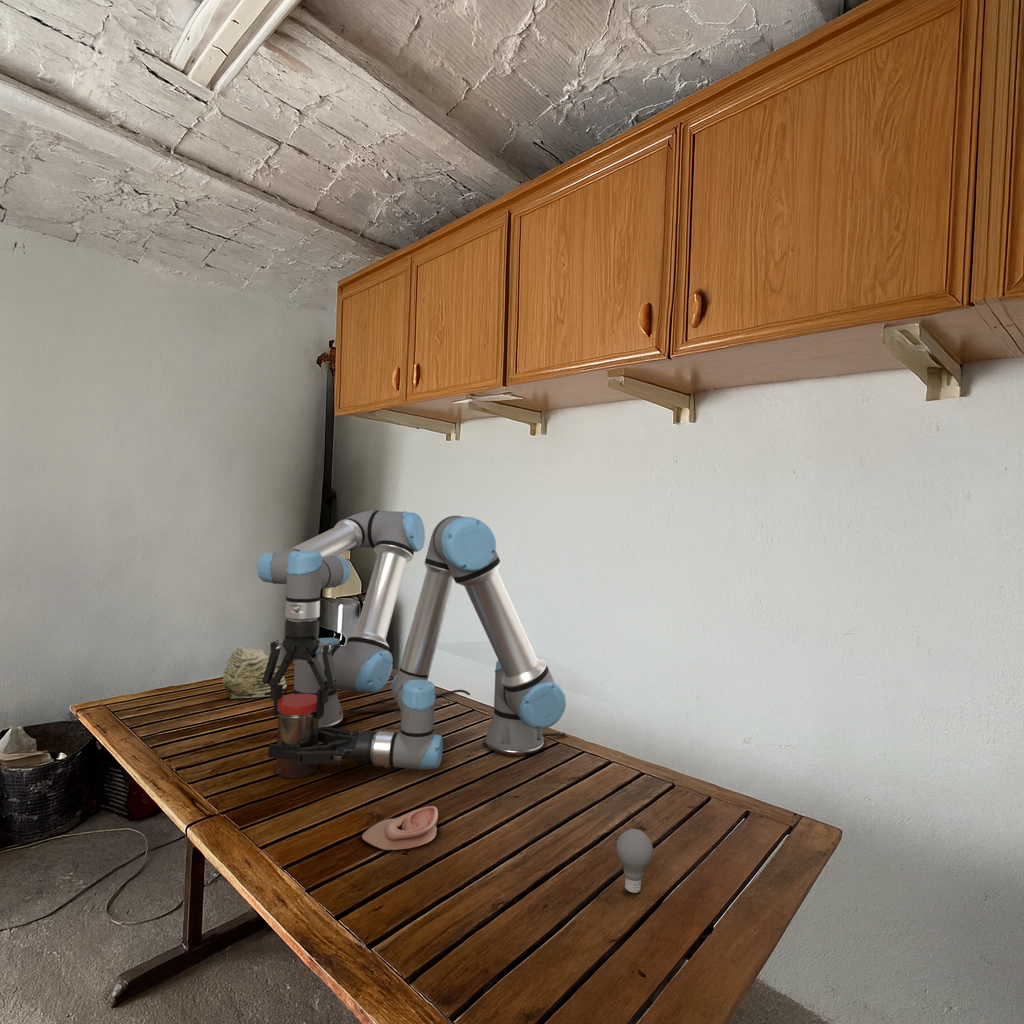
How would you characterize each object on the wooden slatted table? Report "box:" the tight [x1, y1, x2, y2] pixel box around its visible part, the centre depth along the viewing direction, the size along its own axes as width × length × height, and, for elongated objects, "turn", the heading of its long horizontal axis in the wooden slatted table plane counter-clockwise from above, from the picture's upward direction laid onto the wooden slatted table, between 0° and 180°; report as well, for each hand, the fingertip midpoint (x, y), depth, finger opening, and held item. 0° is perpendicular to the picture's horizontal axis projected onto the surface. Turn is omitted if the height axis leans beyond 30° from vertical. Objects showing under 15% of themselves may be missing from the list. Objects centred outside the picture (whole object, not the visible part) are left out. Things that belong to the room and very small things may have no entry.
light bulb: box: [615, 828, 654, 894], centre depth 106 cm, size 6×6×10 cm
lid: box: [277, 693, 317, 715], centre depth 146 cm, size 10×10×2 cm
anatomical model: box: [361, 805, 439, 851], centre depth 120 cm, size 13×4×12 cm
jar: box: [275, 712, 319, 779], centre depth 146 cm, size 9×9×16 cm
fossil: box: [222, 646, 288, 699], centre depth 198 cm, size 9×18×15 cm, turn 132°
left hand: (298, 715), depth 146 cm, fingers closed on lid, 9 cm apart
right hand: (278, 742), depth 146 cm, fingers closed on jar, 9 cm apart
